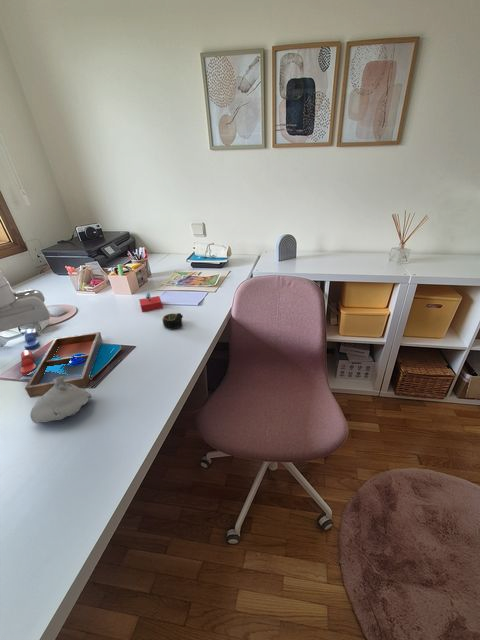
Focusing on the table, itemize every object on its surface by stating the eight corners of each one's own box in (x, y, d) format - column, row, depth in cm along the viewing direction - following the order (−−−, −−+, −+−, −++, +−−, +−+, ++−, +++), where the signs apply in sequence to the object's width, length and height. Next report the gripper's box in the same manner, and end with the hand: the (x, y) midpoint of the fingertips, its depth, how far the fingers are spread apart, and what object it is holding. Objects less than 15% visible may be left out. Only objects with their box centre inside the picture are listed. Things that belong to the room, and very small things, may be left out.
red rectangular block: (142, 312, 119) (138, 297, 115) (140, 305, 124) (136, 291, 120) (162, 308, 121) (159, 293, 118) (160, 302, 127) (157, 287, 123)
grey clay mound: (70, 402, 80) (66, 365, 77) (103, 414, 76) (100, 375, 73) (21, 423, 69) (14, 381, 66) (57, 438, 65) (51, 395, 62)
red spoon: (21, 358, 93) (16, 351, 92) (36, 354, 95) (32, 346, 94) (22, 377, 85) (17, 369, 84) (38, 372, 87) (34, 364, 85)
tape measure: (182, 329, 107) (180, 320, 104) (162, 331, 106) (160, 322, 104) (183, 320, 112) (182, 311, 110) (164, 322, 111) (162, 313, 109)
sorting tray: (30, 397, 78) (24, 388, 76) (58, 346, 99) (54, 338, 97) (86, 387, 81) (82, 378, 79) (102, 340, 102) (99, 332, 100)
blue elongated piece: (24, 336, 104) (20, 329, 103) (38, 333, 106) (34, 326, 105) (25, 351, 96) (21, 344, 95) (40, 347, 98) (36, 340, 97)
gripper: (38, 284, 87) (58, 325, 94) (-54, 303, 77) (-24, 348, 85) (40, 290, 82) (60, 333, 90) (-58, 311, 73) (-26, 358, 80)
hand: (19, 341), depth 87 cm, fingers open, 8 cm apart
